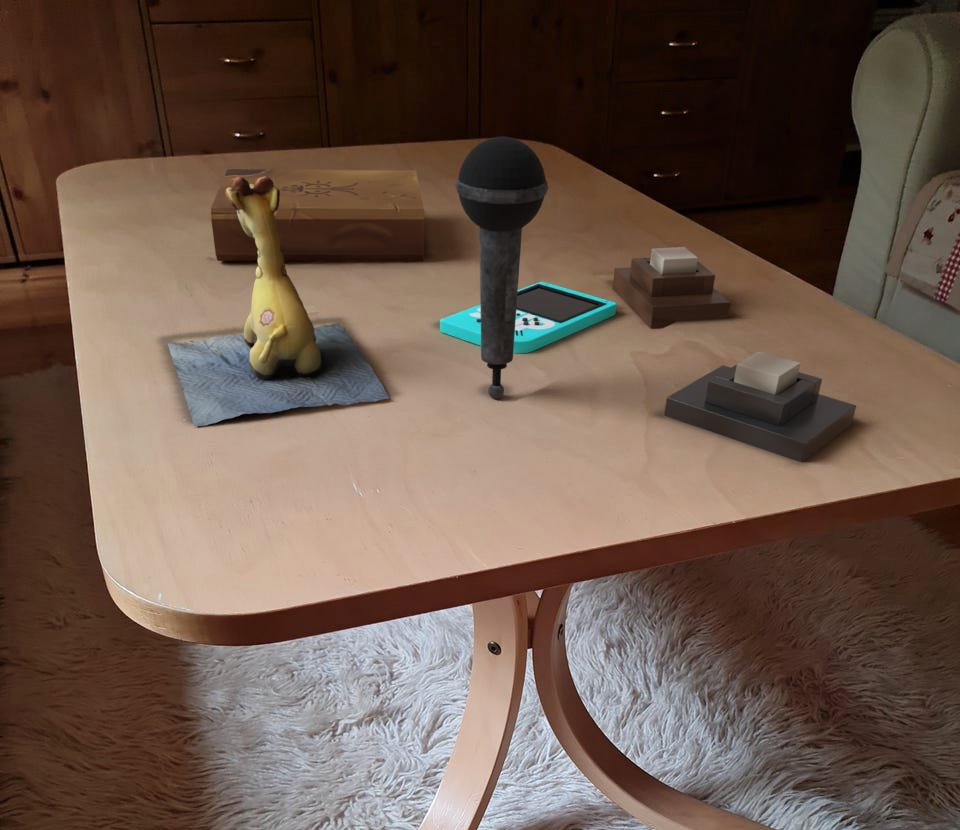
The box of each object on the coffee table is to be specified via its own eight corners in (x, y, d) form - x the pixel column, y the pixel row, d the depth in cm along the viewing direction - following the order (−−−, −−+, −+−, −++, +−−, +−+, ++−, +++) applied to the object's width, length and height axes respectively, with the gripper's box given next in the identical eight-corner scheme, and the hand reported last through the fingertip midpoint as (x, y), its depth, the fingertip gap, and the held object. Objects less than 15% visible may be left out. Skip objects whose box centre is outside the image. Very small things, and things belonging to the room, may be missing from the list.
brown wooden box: (217, 265, 112) (209, 210, 108) (233, 218, 126) (227, 169, 123) (424, 262, 114) (423, 208, 110) (416, 217, 128) (415, 168, 125)
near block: (850, 430, 81) (862, 383, 79) (799, 469, 76) (811, 420, 73) (718, 389, 87) (726, 344, 85) (662, 422, 82) (669, 375, 79)
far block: (727, 324, 100) (734, 283, 97) (650, 329, 98) (655, 287, 96) (683, 285, 109) (688, 247, 107) (612, 289, 108) (616, 250, 105)
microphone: (483, 422, 81) (488, 151, 69) (440, 392, 86) (437, 133, 73) (552, 404, 84) (569, 142, 72) (507, 375, 89) (516, 124, 76)
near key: (796, 384, 79) (800, 362, 78) (774, 398, 77) (779, 376, 76) (754, 371, 81) (758, 350, 80) (732, 385, 79) (736, 363, 78)
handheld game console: (436, 330, 97) (436, 316, 96) (539, 291, 107) (540, 278, 106) (517, 358, 92) (517, 343, 91) (617, 314, 101) (619, 300, 101)
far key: (695, 275, 100) (698, 257, 99) (661, 277, 100) (663, 259, 99) (682, 264, 103) (685, 246, 102) (649, 266, 103) (651, 248, 101)
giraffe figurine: (338, 324, 97) (320, 145, 87) (390, 405, 84) (376, 206, 74) (168, 349, 93) (129, 165, 83) (196, 438, 80) (153, 232, 70)
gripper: (1124, -291, 73) (1035, 6, 84) (921, -279, 81) (864, -7, 92) (1095, -303, 69) (1005, 13, 80) (883, -289, 76) (828, -2, 87)
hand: (930, 1), depth 86 cm, fingers closed
